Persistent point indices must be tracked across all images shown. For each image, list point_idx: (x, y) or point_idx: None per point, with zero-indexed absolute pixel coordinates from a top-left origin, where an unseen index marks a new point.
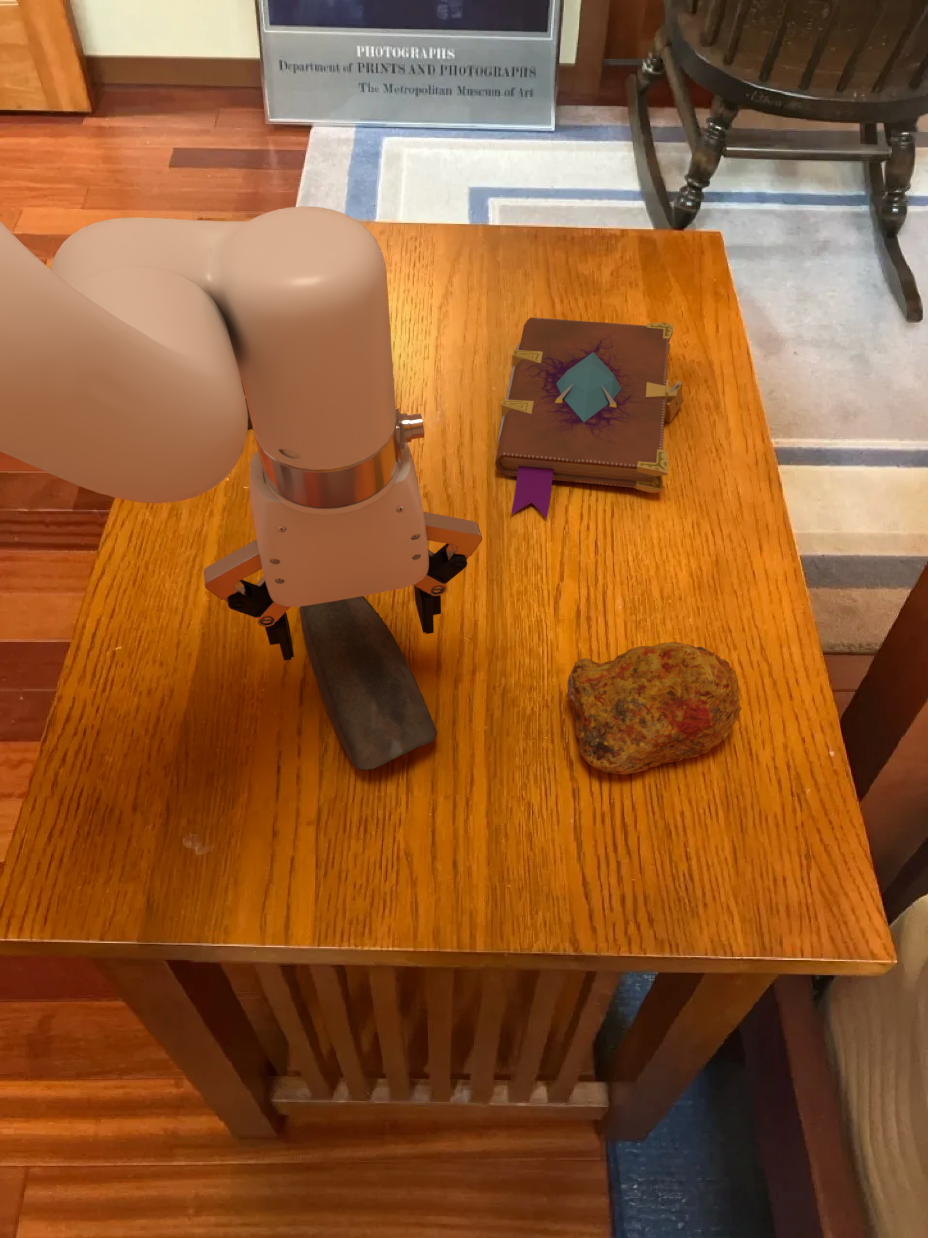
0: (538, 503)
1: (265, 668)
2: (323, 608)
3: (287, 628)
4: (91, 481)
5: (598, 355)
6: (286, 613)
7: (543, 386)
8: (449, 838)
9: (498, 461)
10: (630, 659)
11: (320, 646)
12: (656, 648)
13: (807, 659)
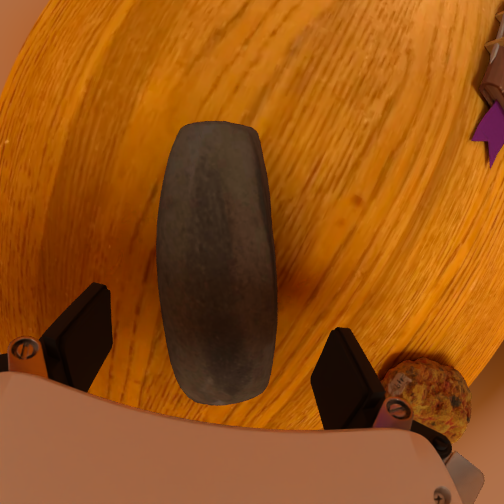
0: (491, 147)
1: (116, 217)
2: (188, 224)
3: (86, 382)
4: None
5: None
6: (96, 304)
7: None
8: (238, 421)
9: (489, 84)
10: (438, 417)
11: (165, 288)
12: (454, 423)
13: (491, 355)
